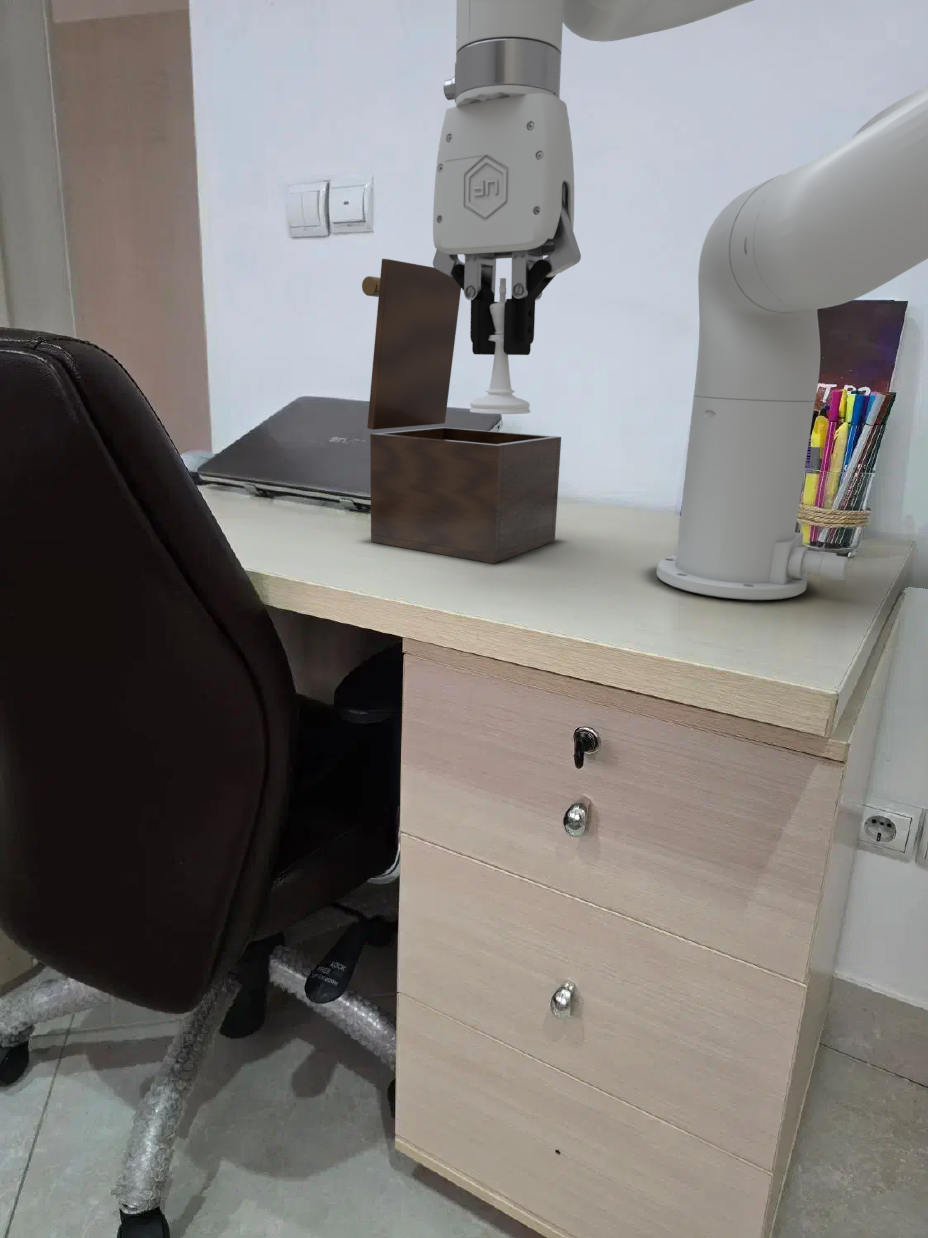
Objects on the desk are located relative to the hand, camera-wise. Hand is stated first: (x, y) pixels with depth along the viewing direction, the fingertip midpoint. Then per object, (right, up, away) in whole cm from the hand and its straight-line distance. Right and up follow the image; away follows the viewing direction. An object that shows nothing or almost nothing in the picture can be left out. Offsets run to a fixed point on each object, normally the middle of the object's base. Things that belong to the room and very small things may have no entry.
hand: (501, 352), depth 65 cm
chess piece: (0, -5, +1) cm, 5 cm away
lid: (-7, +6, +18) cm, 20 cm away
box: (-3, -13, +20) cm, 24 cm away
